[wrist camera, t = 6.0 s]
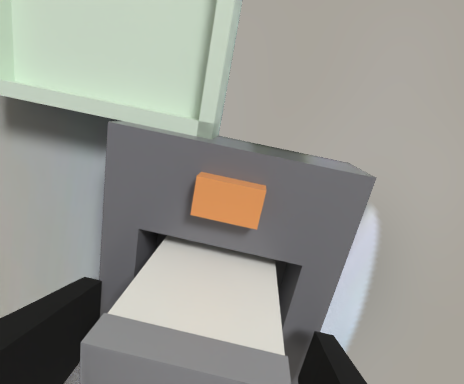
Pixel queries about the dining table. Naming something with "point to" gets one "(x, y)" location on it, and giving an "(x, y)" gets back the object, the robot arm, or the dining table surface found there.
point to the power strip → (232, 214)
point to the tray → (122, 58)
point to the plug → (191, 322)
